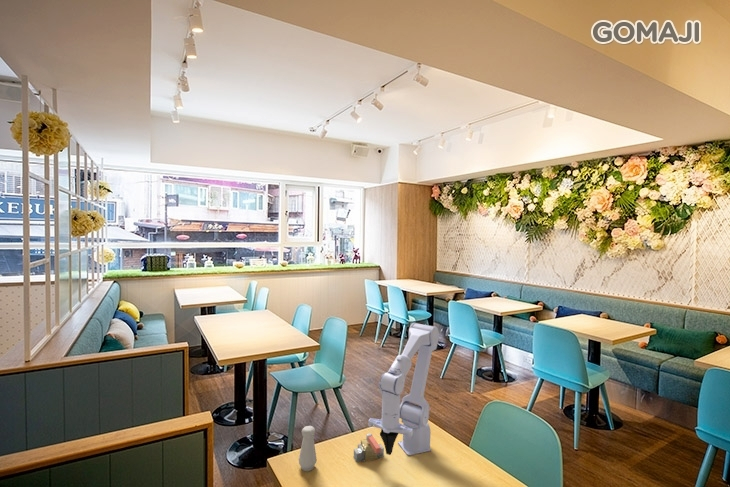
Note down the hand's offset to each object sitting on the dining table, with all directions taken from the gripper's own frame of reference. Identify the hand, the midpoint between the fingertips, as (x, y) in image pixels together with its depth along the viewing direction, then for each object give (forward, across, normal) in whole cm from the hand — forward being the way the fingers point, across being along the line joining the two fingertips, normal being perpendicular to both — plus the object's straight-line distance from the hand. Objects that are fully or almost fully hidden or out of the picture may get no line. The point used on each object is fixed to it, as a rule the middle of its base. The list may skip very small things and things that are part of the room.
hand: (389, 452), depth 116 cm
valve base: (+6, -9, +4) cm, 12 cm away
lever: (0, -6, +2) cm, 7 cm away
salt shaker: (+6, -24, -10) cm, 27 cm away
